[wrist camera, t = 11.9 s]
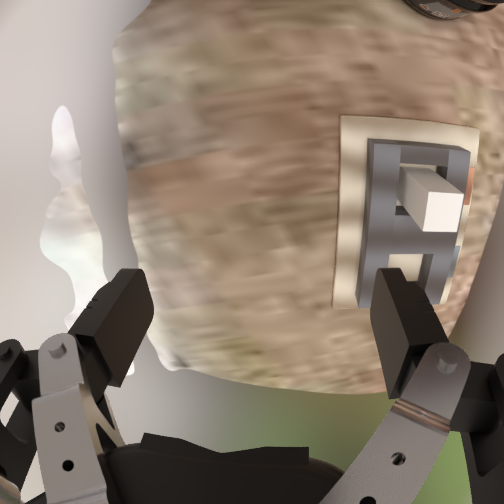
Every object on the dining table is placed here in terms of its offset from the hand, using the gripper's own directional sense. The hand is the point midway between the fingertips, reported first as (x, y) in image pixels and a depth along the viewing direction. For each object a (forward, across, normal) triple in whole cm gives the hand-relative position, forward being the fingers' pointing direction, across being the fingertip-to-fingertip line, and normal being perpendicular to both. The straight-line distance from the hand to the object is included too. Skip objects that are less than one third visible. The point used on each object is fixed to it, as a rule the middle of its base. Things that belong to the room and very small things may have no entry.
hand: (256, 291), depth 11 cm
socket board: (+28, -16, +10) cm, 34 cm away
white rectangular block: (+27, -16, +5) cm, 32 cm away
